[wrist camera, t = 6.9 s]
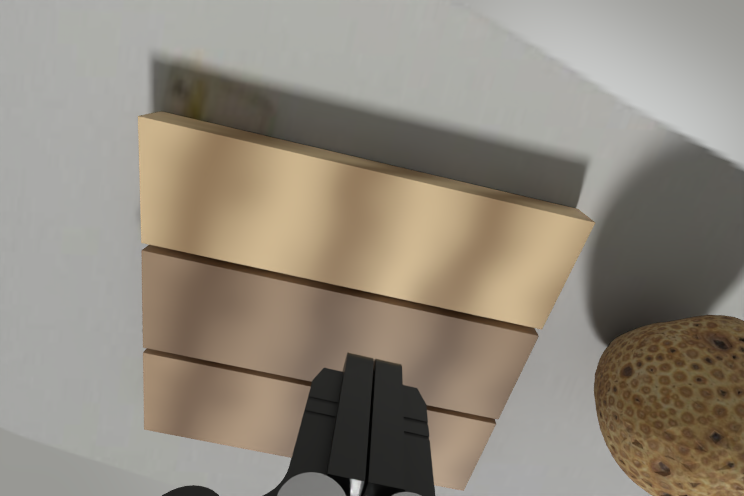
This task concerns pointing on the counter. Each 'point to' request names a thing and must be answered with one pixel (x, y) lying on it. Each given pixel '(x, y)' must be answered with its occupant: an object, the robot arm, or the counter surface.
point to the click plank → (353, 221)
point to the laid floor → (311, 356)
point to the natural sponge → (676, 405)
